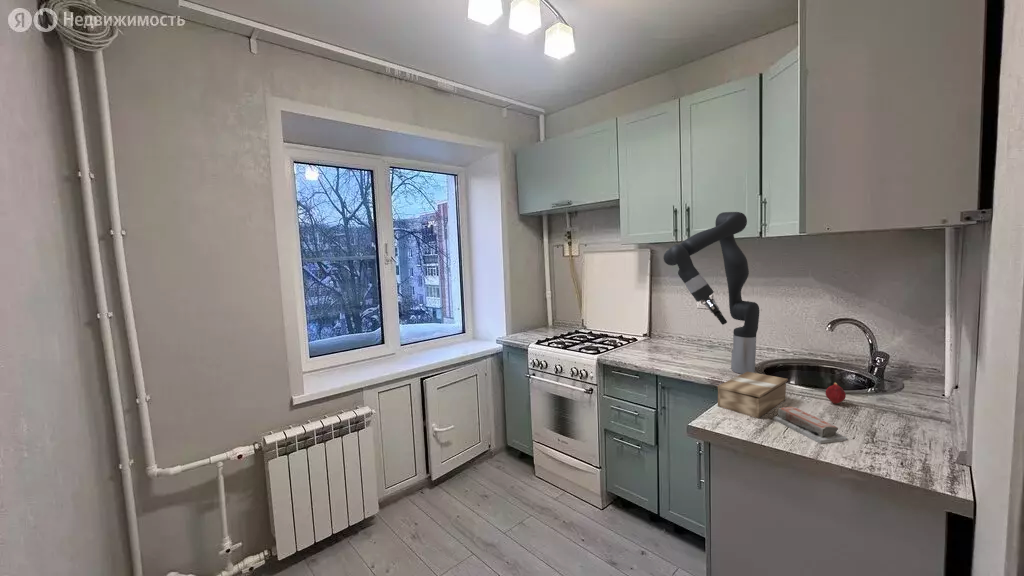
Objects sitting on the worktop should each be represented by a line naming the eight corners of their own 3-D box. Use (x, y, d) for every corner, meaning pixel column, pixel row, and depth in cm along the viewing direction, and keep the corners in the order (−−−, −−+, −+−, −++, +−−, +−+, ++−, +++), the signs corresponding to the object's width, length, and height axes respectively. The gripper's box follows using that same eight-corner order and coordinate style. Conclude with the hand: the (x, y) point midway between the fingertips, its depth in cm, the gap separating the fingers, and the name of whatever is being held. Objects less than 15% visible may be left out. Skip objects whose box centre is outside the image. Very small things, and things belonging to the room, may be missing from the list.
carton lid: (717, 388, 150) (717, 385, 150) (747, 373, 165) (747, 371, 165) (759, 397, 138) (759, 394, 138) (787, 380, 153) (787, 378, 153)
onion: (849, 406, 148) (850, 384, 147) (835, 407, 147) (837, 386, 146) (834, 400, 154) (835, 379, 153) (821, 401, 153) (822, 381, 152)
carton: (717, 406, 151) (718, 388, 150) (746, 390, 165) (746, 374, 165) (758, 418, 140) (759, 399, 139) (785, 400, 154) (786, 383, 153)
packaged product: (772, 406, 139) (797, 404, 141) (771, 420, 139) (796, 417, 141) (821, 430, 121) (848, 426, 123) (820, 445, 122) (847, 441, 124)
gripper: (707, 283, 159) (735, 320, 155) (707, 282, 171) (732, 316, 167) (690, 293, 162) (716, 330, 158) (690, 291, 174) (715, 326, 170)
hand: (724, 323), depth 163 cm, fingers closed
